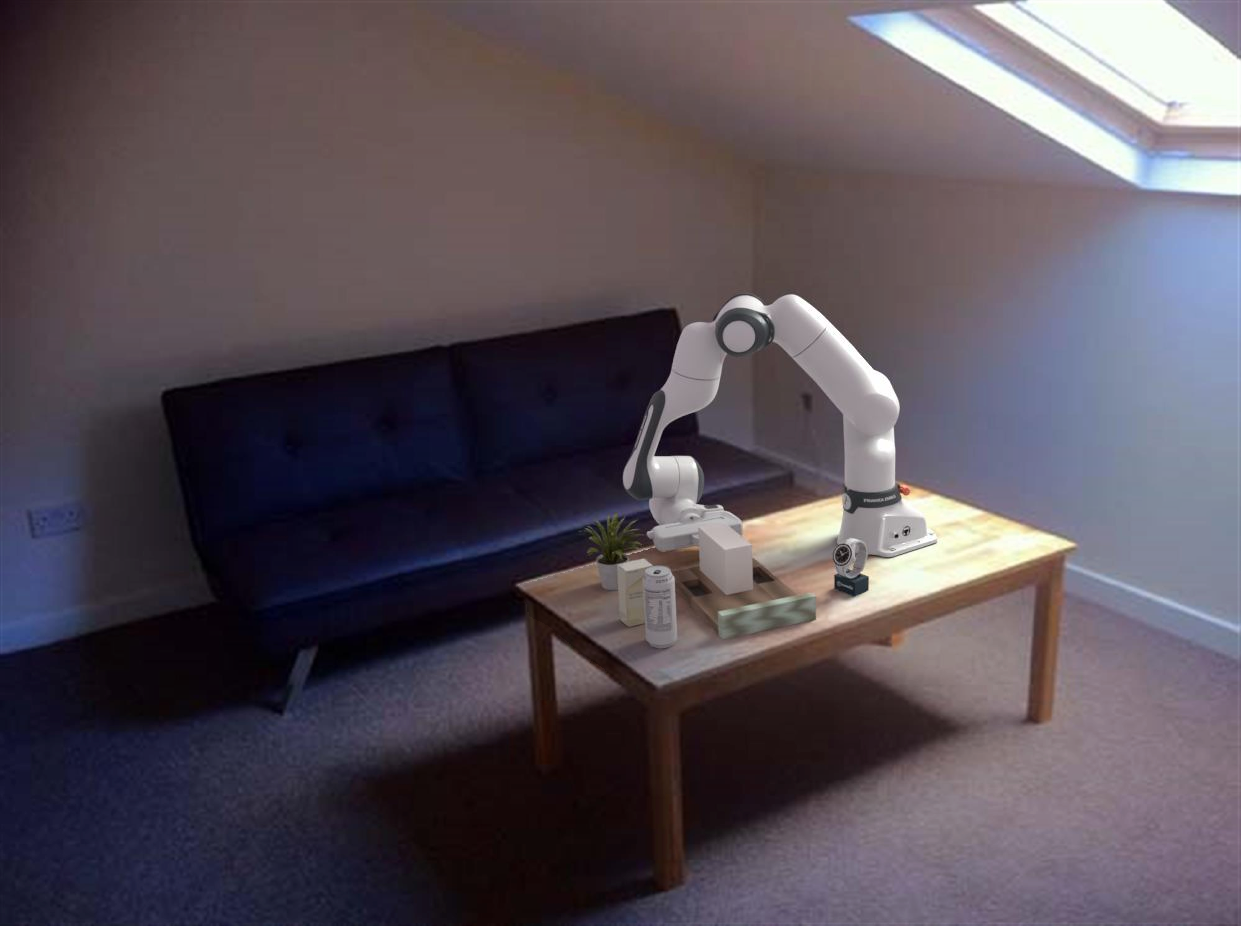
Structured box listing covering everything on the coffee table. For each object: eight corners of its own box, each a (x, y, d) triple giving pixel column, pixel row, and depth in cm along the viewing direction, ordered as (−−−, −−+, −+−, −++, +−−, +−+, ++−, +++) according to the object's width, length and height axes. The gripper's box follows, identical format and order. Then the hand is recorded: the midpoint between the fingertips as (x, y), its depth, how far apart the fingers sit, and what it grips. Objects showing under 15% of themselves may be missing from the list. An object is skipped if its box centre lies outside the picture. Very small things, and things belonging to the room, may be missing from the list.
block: (725, 564, 242) (724, 522, 239) (753, 589, 229) (751, 544, 226) (700, 569, 240) (698, 526, 237) (726, 594, 228) (724, 549, 225)
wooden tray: (751, 564, 247) (750, 543, 245) (815, 619, 219) (815, 596, 218) (666, 580, 241) (665, 559, 239) (722, 639, 214) (721, 615, 212)
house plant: (605, 608, 230) (600, 534, 225) (565, 588, 240) (559, 518, 235) (657, 586, 238) (653, 515, 233) (616, 568, 249) (612, 500, 244)
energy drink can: (681, 636, 216) (678, 565, 211) (671, 651, 210) (667, 578, 206) (652, 633, 218) (648, 562, 213) (641, 647, 213) (637, 575, 208)
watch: (827, 591, 231) (827, 542, 228) (853, 579, 236) (853, 531, 232) (848, 599, 227) (849, 549, 223) (874, 587, 232) (875, 538, 228)
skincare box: (628, 627, 221) (624, 571, 217) (619, 619, 225) (615, 563, 221) (656, 620, 223) (653, 564, 219) (647, 612, 227) (644, 557, 223)
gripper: (643, 518, 249) (665, 539, 237) (727, 503, 255) (752, 523, 242) (644, 544, 251) (666, 567, 239) (728, 529, 257) (753, 550, 244)
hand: (710, 544), depth 241 cm, fingers closed
